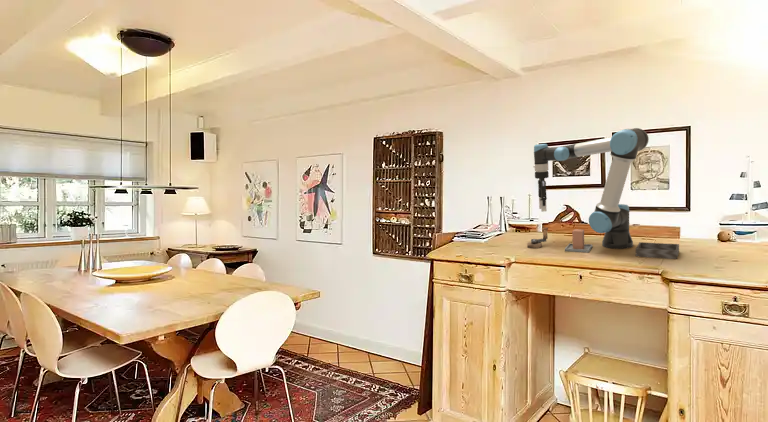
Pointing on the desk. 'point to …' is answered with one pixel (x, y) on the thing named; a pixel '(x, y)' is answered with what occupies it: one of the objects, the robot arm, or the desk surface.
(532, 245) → the crank base
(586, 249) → the tray
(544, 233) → the crank
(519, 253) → the desk surface
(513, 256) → the desk surface
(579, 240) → the post
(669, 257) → the bin
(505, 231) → the desk surface
